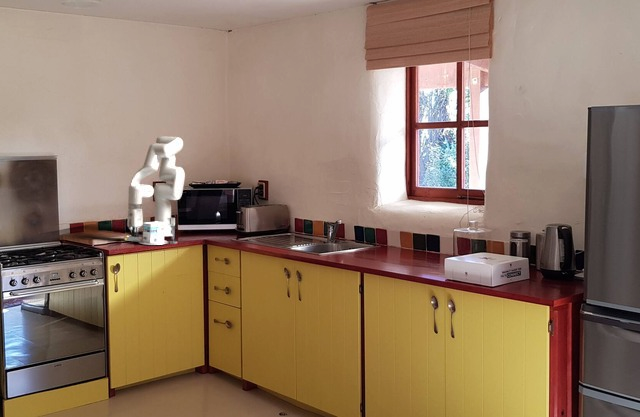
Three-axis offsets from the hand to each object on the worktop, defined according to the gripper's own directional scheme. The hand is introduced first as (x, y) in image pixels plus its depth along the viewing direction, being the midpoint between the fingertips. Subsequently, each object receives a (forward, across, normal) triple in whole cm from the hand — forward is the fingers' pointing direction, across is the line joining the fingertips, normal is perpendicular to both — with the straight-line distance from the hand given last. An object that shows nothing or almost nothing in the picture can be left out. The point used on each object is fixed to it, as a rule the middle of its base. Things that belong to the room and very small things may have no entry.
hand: (134, 238), depth 431 cm
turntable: (+1, -4, -9) cm, 10 cm away
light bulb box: (0, -4, -14) cm, 15 cm away
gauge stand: (+1, +3, -23) cm, 23 cm away
